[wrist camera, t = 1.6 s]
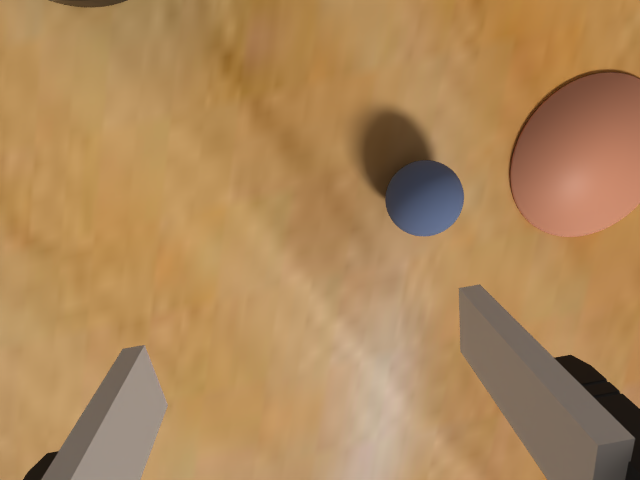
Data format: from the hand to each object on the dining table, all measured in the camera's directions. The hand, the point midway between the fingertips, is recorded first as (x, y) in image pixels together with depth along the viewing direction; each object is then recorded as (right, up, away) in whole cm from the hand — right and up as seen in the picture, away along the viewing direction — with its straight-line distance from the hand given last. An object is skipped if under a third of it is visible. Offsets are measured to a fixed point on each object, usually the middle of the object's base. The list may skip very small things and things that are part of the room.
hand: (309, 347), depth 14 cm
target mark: (+22, +10, +17) cm, 30 cm away
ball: (+8, +7, +14) cm, 18 cm away
